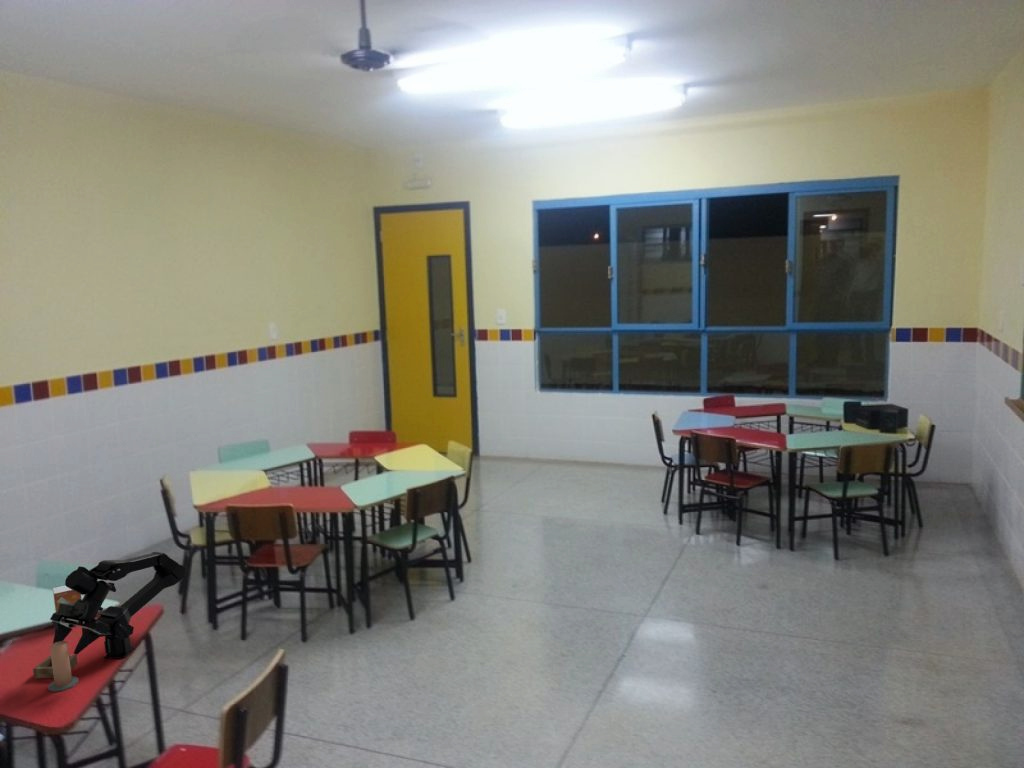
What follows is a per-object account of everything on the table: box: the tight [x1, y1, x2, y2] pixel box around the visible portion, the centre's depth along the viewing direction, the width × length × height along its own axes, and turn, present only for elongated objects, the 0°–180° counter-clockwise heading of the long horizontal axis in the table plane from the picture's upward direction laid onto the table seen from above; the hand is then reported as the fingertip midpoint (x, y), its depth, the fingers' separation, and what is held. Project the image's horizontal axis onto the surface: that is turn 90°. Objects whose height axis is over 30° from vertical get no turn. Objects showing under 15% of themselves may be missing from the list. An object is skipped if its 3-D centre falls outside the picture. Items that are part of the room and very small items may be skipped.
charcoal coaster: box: [47, 675, 79, 693], centre depth 221 cm, size 8×8×1 cm
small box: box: [52, 584, 83, 623], centre depth 261 cm, size 8×6×13 cm
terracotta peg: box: [49, 640, 73, 687], centre depth 220 cm, size 4×4×12 cm
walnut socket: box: [32, 654, 79, 679], centre depth 229 cm, size 8×8×3 cm
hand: (64, 651), depth 221 cm, fingers open, 9 cm apart
